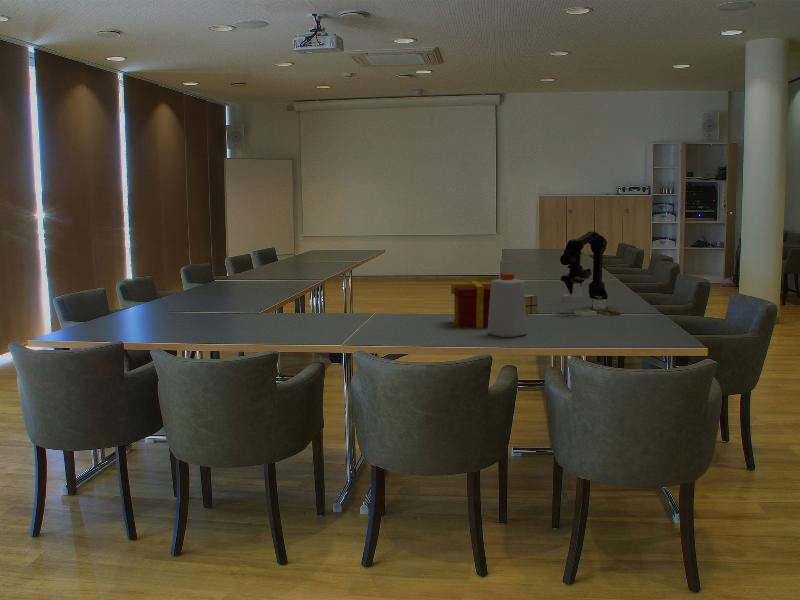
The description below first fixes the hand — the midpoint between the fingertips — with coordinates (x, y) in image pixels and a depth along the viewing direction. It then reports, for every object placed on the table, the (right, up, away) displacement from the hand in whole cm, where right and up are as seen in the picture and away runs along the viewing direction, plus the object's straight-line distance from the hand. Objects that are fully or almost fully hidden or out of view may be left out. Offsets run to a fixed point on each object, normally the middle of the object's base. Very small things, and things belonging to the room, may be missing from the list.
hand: (574, 293), depth 417 cm
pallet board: (+16, -12, 0) cm, 19 cm away
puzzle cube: (-25, -11, +9) cm, 29 cm away
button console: (+5, -12, -3) cm, 14 cm away
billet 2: (+14, -10, +4) cm, 17 cm away
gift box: (-54, -16, -23) cm, 61 cm away
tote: (-4, -12, +3) cm, 12 cm away
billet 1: (0, -1, 0) cm, 1 cm away
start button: (+5, -12, -3) cm, 13 cm away
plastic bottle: (-43, -19, -53) cm, 71 cm away
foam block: (+9, -5, +55) cm, 56 cm away
